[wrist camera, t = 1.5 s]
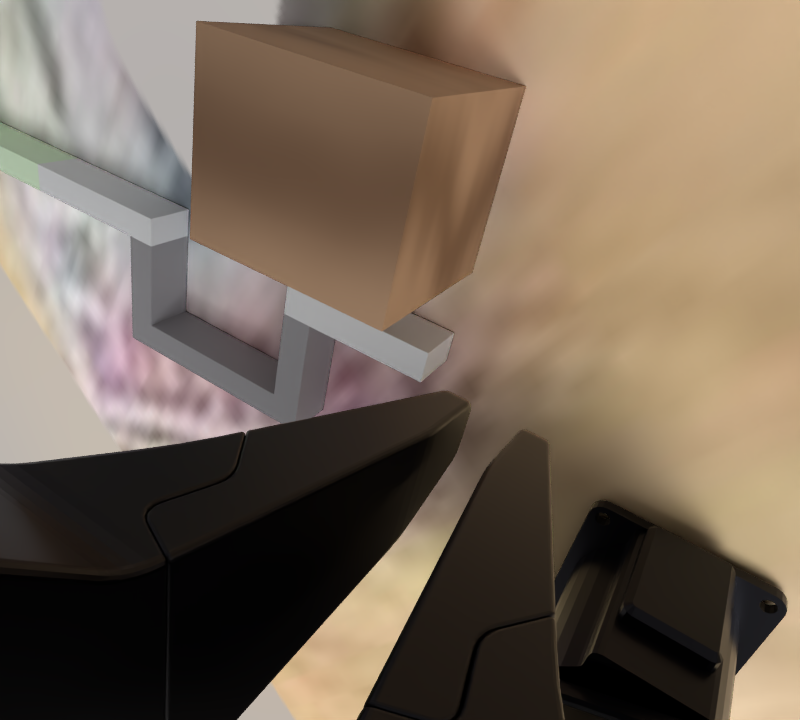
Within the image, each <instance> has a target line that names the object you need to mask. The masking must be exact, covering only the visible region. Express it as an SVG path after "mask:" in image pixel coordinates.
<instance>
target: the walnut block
mask: <svg viewBox="0 0 800 720" xmlns="http://www.w3.org/2000/svg"><path fill="white" fill-rule="evenodd" d="M525 88H526V86H523V85H520V84H517V83H514V82H510V81H507V80H504V79H500V78H497V77H494V76H490V75H487V74H484V73H480V72H477V71H474V70H470V69H467V68H464V67H460V66H457V65H454V64H450V63H447V62H444V61H440V60H437V59H434V58H430V57H427V56H424V55H421V54H417V53H414V52H411V51H407V50H404V49H401V48H397V47H394V46H391V45H387V44H384V43H381V42H377V41H374V40H371V39H367V38H364V37H361V36H357V35H354V34H351V33H347V32H344V31H341V30H338V29H334V28H328V27H308V26H288V25H266V24H245V23H227V22H206V21H196V52H195V86H194V118H193V153H192V154H193V155H192V185H191V219H190V239H191V240H193V241H195V242H197V243H199V244H201V245H203V246H206V247H208V248H210V249H212V250H214V251H216V252H218V253H220V254H222V255H224V256H226V257H228V258H230V259H232V260H234V261H237V262H239V263H241V264H243V265H245V266H247V267H249V268H251V269H253V270H255V271H257V272H259V273H261V274H263V275H266V276H268V277H270V278H272V279H274V280H276V281H278V282H280V283H282V284H284V285H286V286H288V287H290V288H292V289H295V290H297V291H299V292H301V293H303V294H305V295H307V296H309V297H311V298H313V299H315V300H317V301H319V302H321V303H324V304H326V305H328V306H330V307H332V308H334V309H336V310H338V311H340V312H342V313H344V314H346V315H348V316H350V317H352V318H355V319H357V320H359V321H361V322H363V323H365V324H367V325H369V326H371V327H373V328H375V329H377V330H379V331H381V332H382V331H384V330H385V329H387V328H388V327H390V326H391V325H393V324H394V323H396V322H397V321H399V320H401V319H402V318H404V317H405V316H407V315H408V314H410V313H411V312H413V311H414V310H416V309H417V308H419V307H420V306H422V305H423V304H425V303H426V302H428V301H429V300H431V299H433V298H434V297H436V296H437V295H439V294H440V293H442V292H443V291H445V290H446V289H448V288H449V287H451V286H452V285H454V284H455V283H457V282H458V281H460V280H461V279H463V278H465V277H466V276H468V275H469V274H471V273H472V272H473V269H474V265H475V262H476V258H477V255H478V251H479V248H480V244H481V241H482V237H483V234H484V231H485V227H486V224H487V220H488V217H489V213H490V210H491V206H492V203H493V199H494V196H495V192H496V189H497V185H498V182H499V179H500V175H501V172H502V168H503V165H504V161H505V158H506V154H507V151H508V147H509V144H510V140H511V137H512V133H513V130H514V127H515V123H516V120H517V116H518V113H519V109H520V106H521V102H522V99H523V95H524V92H525Z"/></svg>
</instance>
